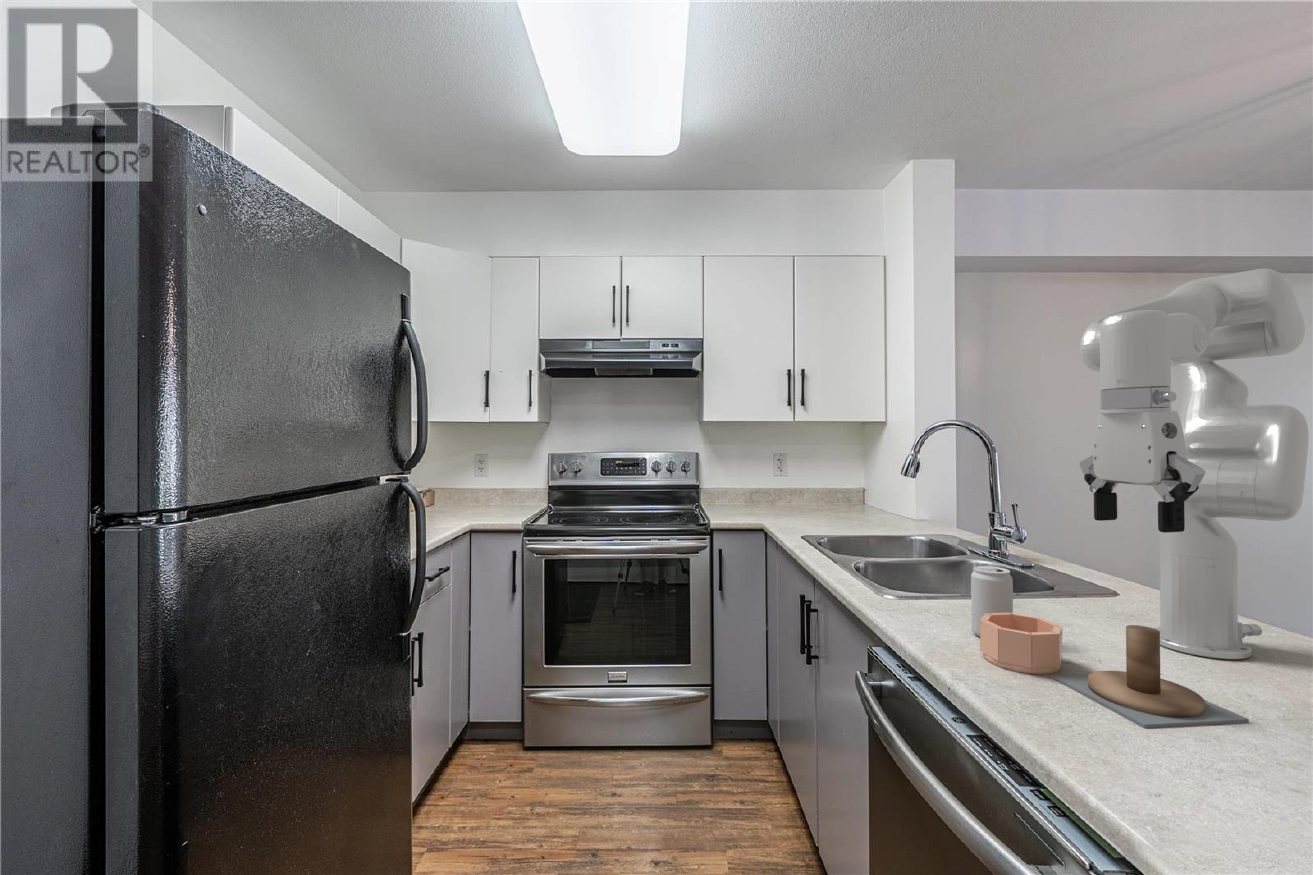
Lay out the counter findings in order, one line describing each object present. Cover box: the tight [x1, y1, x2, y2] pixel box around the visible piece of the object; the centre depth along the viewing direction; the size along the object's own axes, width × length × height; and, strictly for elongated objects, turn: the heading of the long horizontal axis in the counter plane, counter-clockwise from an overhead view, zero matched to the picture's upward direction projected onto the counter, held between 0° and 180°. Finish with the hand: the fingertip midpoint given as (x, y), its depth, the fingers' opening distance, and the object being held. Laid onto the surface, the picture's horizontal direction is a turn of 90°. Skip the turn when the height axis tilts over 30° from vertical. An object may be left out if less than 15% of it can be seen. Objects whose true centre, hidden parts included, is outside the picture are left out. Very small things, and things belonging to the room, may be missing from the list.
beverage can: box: [970, 565, 1014, 638], centre depth 102 cm, size 6×6×12 cm
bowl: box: [979, 612, 1063, 676], centre depth 91 cm, size 10×10×6 cm
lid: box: [1088, 624, 1205, 718], centre depth 77 cm, size 12×12×9 cm
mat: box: [1054, 674, 1250, 729], centre depth 77 cm, size 14×14×1 cm
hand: (1136, 525), depth 80 cm, fingers open, 9 cm apart
